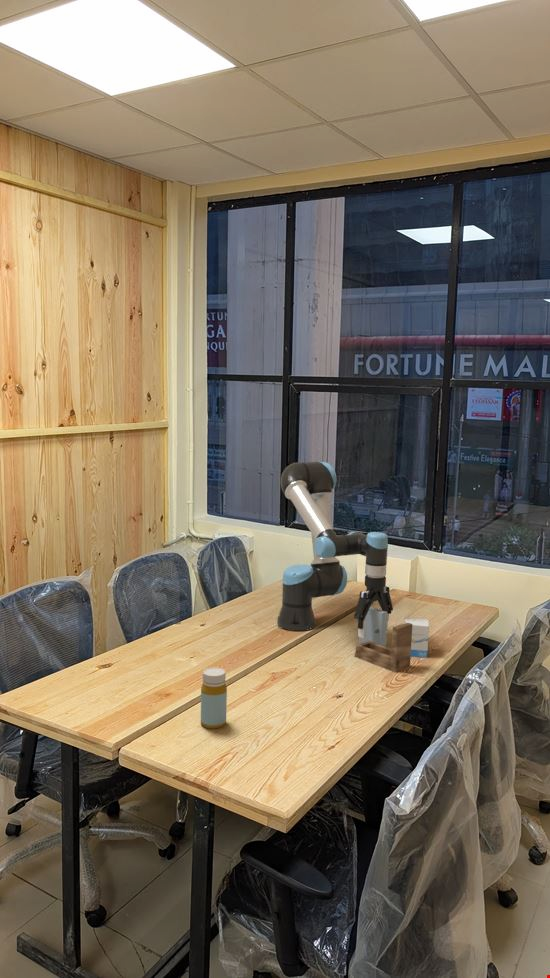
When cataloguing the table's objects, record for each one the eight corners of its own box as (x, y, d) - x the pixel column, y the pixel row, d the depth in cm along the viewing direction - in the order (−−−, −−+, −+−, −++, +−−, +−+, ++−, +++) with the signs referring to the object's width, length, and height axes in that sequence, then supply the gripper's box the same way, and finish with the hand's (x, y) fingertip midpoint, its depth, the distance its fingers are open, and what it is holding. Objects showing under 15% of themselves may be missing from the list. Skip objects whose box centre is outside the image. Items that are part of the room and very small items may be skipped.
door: (357, 643, 261) (358, 607, 259) (364, 641, 263) (366, 605, 261) (378, 651, 253) (380, 613, 251) (385, 649, 256) (387, 611, 254)
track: (354, 656, 248) (356, 615, 246) (369, 651, 253) (371, 610, 251) (395, 672, 235) (397, 628, 233) (410, 666, 240) (412, 624, 238)
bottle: (200, 718, 198) (201, 666, 196) (225, 717, 198) (226, 666, 196) (200, 729, 191) (201, 676, 189) (226, 729, 192) (227, 676, 190)
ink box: (427, 658, 248) (429, 626, 247) (402, 655, 250) (404, 624, 248) (427, 649, 257) (429, 618, 255) (403, 647, 258) (405, 616, 257)
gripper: (361, 582, 244) (358, 643, 247) (404, 572, 260) (401, 629, 263) (345, 578, 250) (342, 637, 253) (388, 568, 266) (385, 624, 269)
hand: (372, 633), depth 258 cm, fingers open, 12 cm apart
